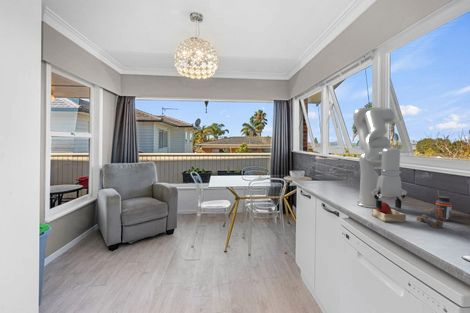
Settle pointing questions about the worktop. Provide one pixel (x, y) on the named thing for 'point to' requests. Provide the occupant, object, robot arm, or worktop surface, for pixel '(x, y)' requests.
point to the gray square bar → (430, 221)
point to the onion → (384, 208)
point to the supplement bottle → (443, 209)
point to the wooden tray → (389, 216)
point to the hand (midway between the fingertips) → (388, 208)
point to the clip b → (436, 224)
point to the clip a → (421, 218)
